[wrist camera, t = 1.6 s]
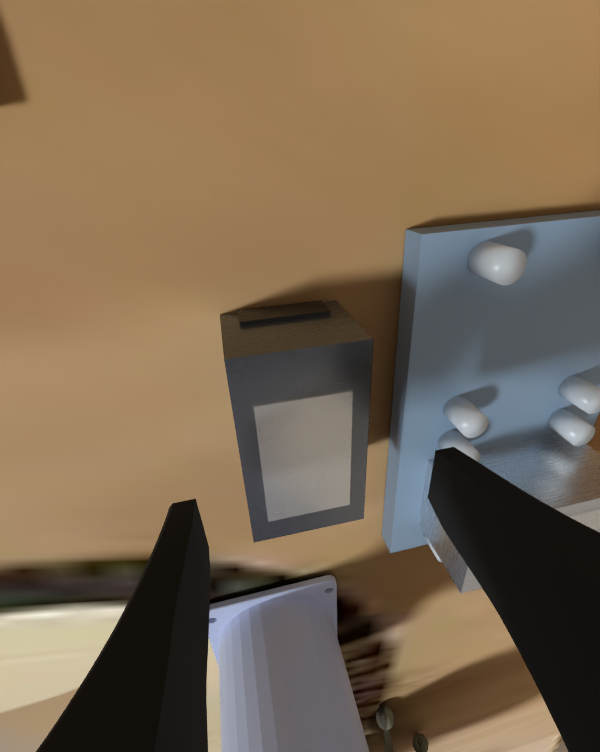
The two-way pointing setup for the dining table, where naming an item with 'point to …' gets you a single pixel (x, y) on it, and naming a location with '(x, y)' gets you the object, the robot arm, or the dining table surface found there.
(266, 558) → the dining table surface
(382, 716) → the tabletop clock
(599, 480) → the seated drive
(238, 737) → the robot arm
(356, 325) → the loose drive
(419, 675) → the dining table surface
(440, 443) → the drive tray
